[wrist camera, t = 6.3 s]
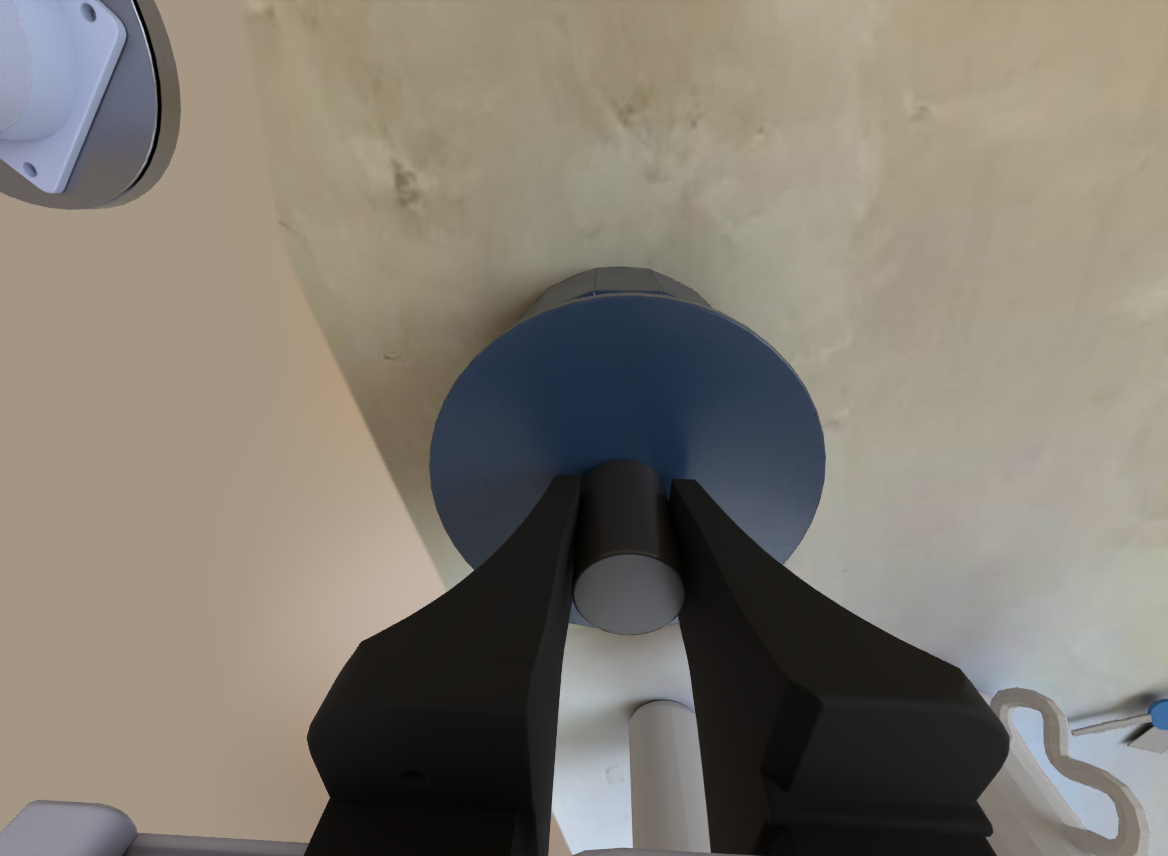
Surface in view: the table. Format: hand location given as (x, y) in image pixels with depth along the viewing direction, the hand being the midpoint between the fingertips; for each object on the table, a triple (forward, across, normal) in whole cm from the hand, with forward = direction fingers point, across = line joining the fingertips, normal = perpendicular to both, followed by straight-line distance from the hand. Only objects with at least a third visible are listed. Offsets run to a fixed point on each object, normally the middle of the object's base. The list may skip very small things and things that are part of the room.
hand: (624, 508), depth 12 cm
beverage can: (+9, -4, +24) cm, 26 cm away
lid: (+1, 0, 0) cm, 1 cm away
